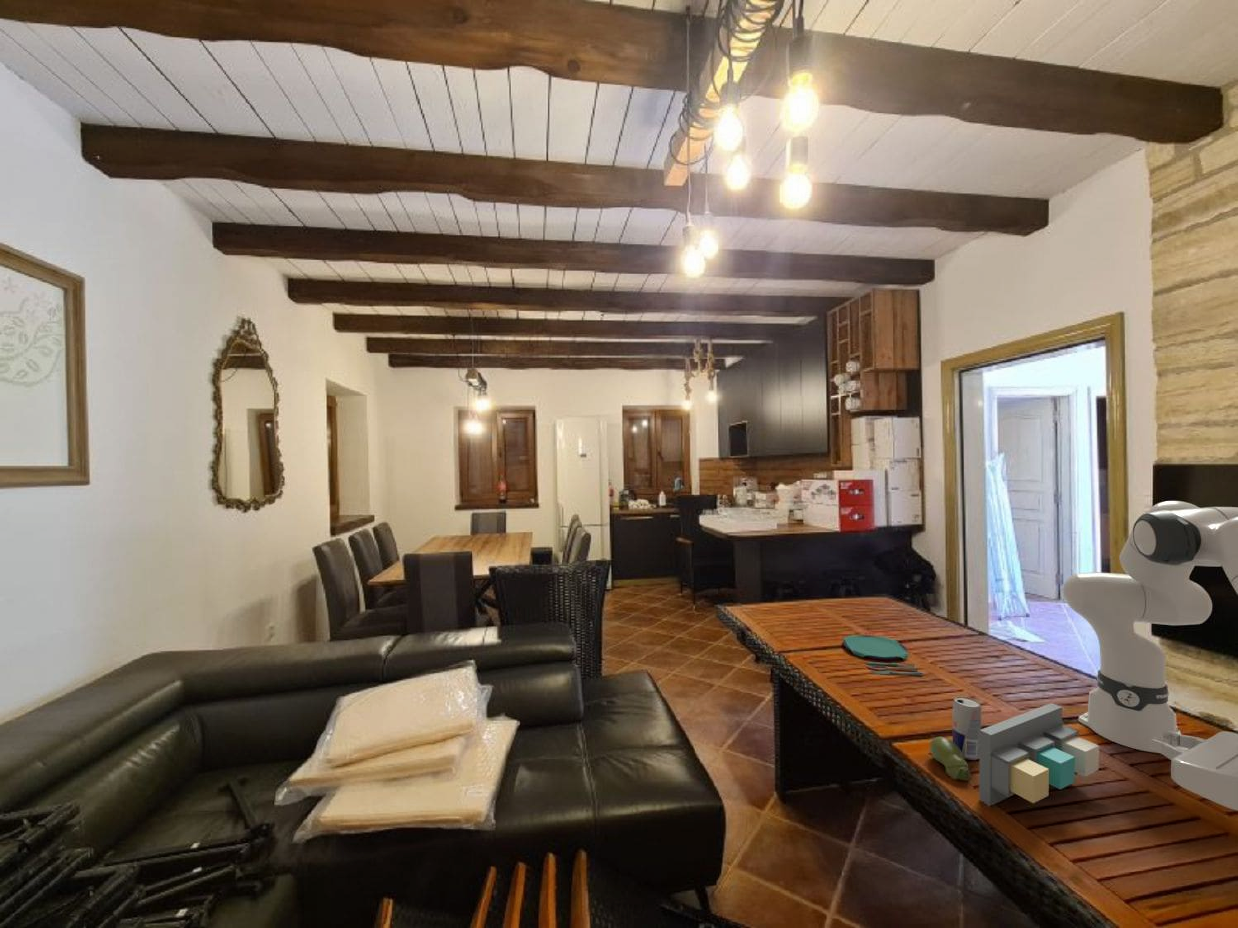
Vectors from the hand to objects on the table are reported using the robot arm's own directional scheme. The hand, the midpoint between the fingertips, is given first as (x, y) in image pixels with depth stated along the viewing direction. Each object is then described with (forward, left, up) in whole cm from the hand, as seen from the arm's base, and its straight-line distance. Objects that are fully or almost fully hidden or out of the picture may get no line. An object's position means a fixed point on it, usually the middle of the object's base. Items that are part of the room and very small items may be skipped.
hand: (1157, 738), depth 87 cm
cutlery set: (-51, -68, -21) cm, 87 cm away
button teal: (-4, -14, -15) cm, 21 cm away
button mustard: (+5, -16, -16) cm, 23 cm away
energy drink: (-9, -30, -20) cm, 38 cm away
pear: (0, -31, -20) cm, 37 cm away
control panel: (-5, -18, -20) cm, 27 cm away
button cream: (-12, -12, -15) cm, 23 cm away
